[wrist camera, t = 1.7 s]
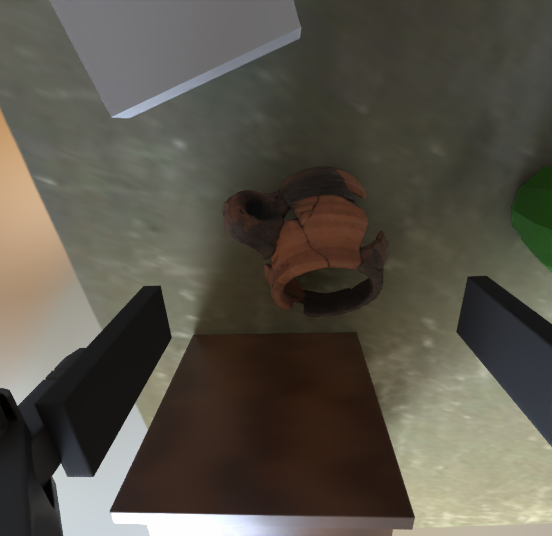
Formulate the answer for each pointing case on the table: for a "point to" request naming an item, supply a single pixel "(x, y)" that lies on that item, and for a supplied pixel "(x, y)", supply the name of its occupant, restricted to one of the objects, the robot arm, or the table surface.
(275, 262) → the pottery mug
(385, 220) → the table surface
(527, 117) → the table surface
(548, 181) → the bell pepper
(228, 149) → the table surface
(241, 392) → the shelf
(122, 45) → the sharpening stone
